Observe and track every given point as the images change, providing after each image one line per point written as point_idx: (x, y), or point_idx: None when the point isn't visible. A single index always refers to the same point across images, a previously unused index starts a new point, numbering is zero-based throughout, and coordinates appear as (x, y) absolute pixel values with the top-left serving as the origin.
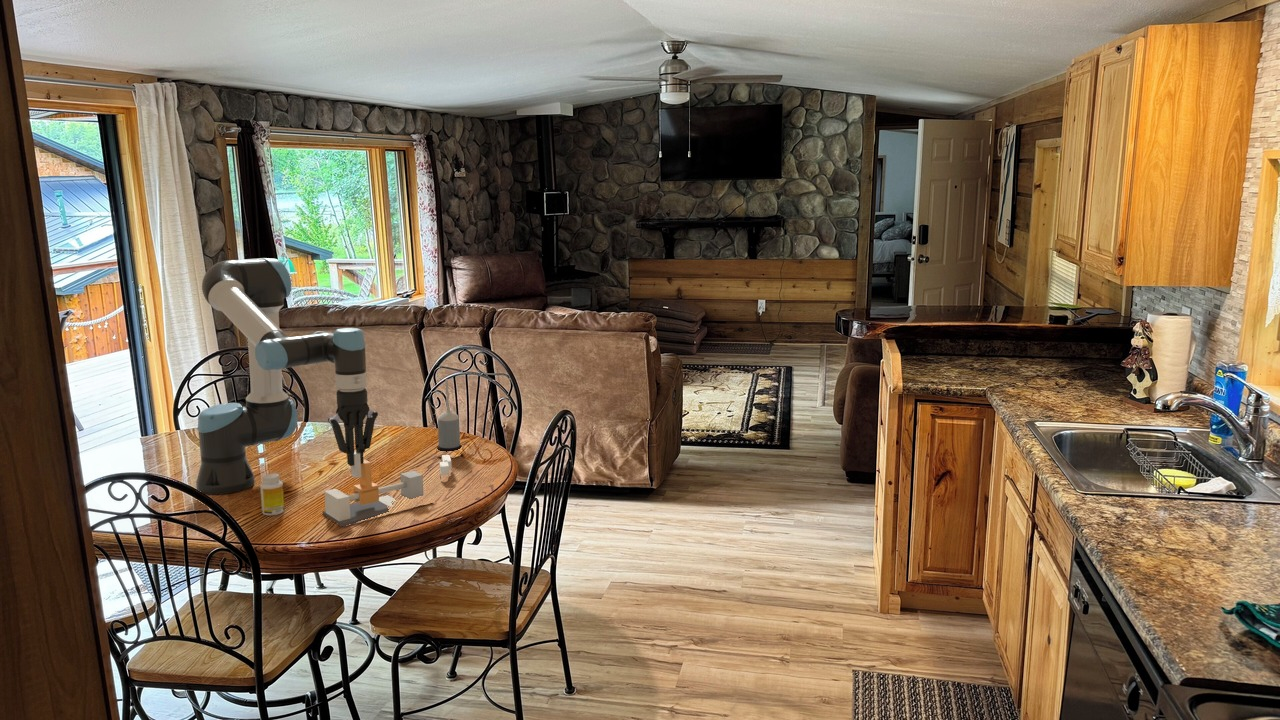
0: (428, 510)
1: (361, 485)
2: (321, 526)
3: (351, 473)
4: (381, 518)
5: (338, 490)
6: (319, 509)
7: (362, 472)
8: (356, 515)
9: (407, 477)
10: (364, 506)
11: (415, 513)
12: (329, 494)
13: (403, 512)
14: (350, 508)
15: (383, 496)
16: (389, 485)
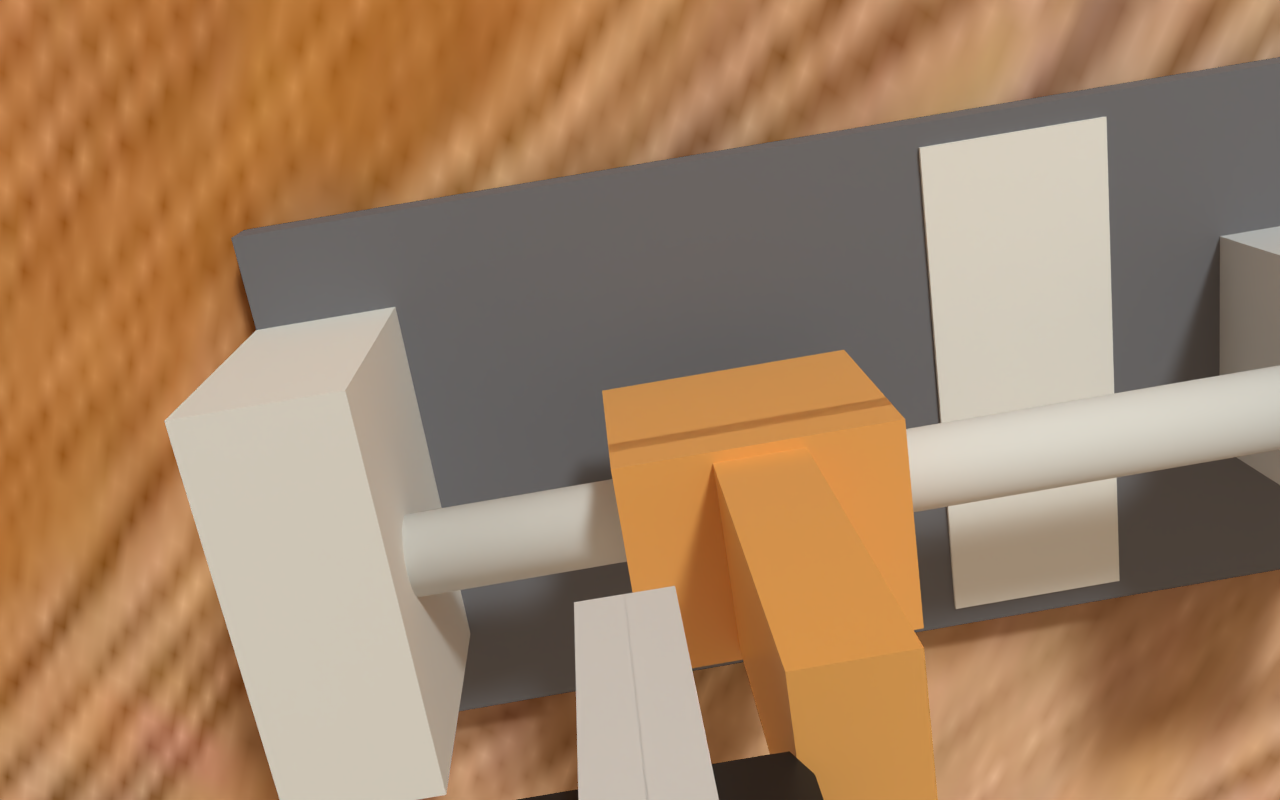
0: (1243, 682)
1: (715, 523)
2: (174, 577)
3: (576, 633)
4: None
5: (367, 501)
6: (237, 19)
7: (763, 680)
8: (551, 584)
9: None
10: (717, 356)
11: (1104, 696)
12: (215, 582)
13: (1024, 615)
14: (554, 337)
15: (1038, 139)
16: (1112, 452)
